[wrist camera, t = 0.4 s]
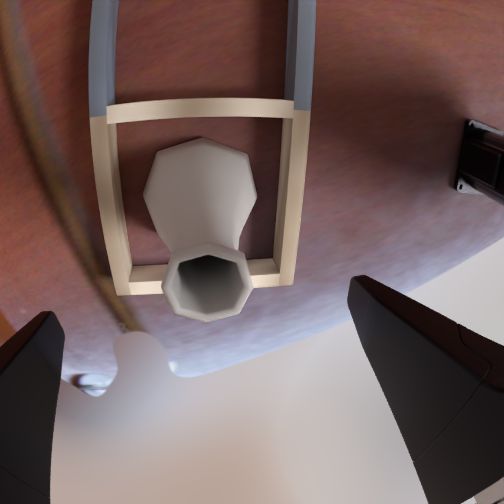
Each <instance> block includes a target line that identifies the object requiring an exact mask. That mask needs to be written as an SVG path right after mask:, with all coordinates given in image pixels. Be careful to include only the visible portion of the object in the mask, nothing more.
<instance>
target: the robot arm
mask: <svg viewBox="0 0 504 504" xmlns="http://www.w3.org/2000/svg"><path fill="white" fill-rule="evenodd" d="M470 125H471V126H470ZM454 188H455V190H456V191H458V192H461V193H470V194H479V195H486V196H488V197H489V198H491V199H493V200H495V201H496V202H498V203H500V204H501V205H503V206H504V132H501V131H499V130H497V129H494V128H492V127H489V126H487V125H484V124H481V123H479V122H476V121H473V120H470V119H468V120H467V121H466V123H465V130H464V137H463V144H462V150H461V155H460V161H459V166H458V171H457V176H456V180H455V185H454ZM347 303H348V307H349V310H350V313H351V315H352V318H353V321H354V324H355V327H356V330H357V333H358V335H359V338H360V341H361V344H362V346H363V349H364V351H365V353H366V356H367V357H368V360H369V362H370V364H371V366H372V368H373V371H374V372H375V375H376V377H377V379H378V381H379V383H380V386H381V388H382V390H383V392H384V395H385V397H386V399H387V402H388V404H389V406H390V408H391V411H392V413H393V415H394V418H395V420H396V422H397V425H398V427H399V429H400V432H401V434H402V436H403V439H404V441H405V444H406V446H407V448H408V451H409V454H410V456H411V458H412V461H414V462H413V464H414V467H415V469H416V471H417V474H418V477H419V480H420V482H421V485H422V487H423V490H424V493H425V495H426V498H427V501H428V504H461V503H463V502H464V501H466V500H468V499H470V498H472V497H473V496H474V498H475V500H476V502H477V503H475V504H504V346H503V345H501V344H498V343H496V342H494V341H492V340H490V339H488V338H485V337H483V336H481V335H479V334H477V333H475V332H473V331H471V330H470V329H467V328H466V327H464V326H462V325H460V324H457V323H456V322H455V321H453V320H451V319H449V318H447V317H445V316H444V315H442V314H440V313H438V312H436V311H434V310H432V309H430V308H428V307H426V306H425V305H423V304H421V303H419V302H417V301H415V300H413V299H411V298H409V297H407V296H405V295H403V294H402V293H400V292H398V291H396V290H394V289H392V288H390V287H388V286H386V285H384V284H382V283H380V282H378V281H376V280H374V279H372V278H370V277H368V276H366V275H359V276H354V277H352V278H351V281H350V286H349V292H348V298H347ZM64 341H65V334H64V330H63V328H62V327H61V325H60V323H59V321H58V319H57V317H56V315H55V313H54V312H52V311H43V312H40V313H39V314H38V315H37V316H36V317H34V318H33V319H32V320H31V321H30V322H28V323H27V324H26V325H25V326H24V327H22V328H21V329H20V330H19V331H18V332H17V333H16V334H14V335H13V336H12V337H11V338H10V339H9V340H7V341H6V342H5V343H4V344H3V345H2V346H1V347H0V504H50V498H49V497H50V473H51V453H52V440H53V431H54V422H55V414H56V407H57V400H58V393H59V387H60V380H61V370H62V359H63V349H64Z"/></svg>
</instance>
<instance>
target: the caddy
mask: <svg viewBox="0 0 504 504" xmlns="http://www.w3.org/2000/svg"><path fill="white" fill-rule="evenodd" d="M118 5H119V0H93V3H92V13H91V25H90V41H89V114H90V132H91V145H92V156H93V165H94V174H95V182H96V190H97V197H98V204H99V210H100V216H101V222H102V228H103V233H104V239H105V244H106V249H107V254H108V259H109V263H110V268H111V272H112V276H113V281H114V285H115V289H116V293H117V295H138V294H161V293H163V291H162V289H161V283H162V280H163V277H164V274H165V271H166V268H167V265H168V264H164V265H145V266H133V265H132V259H131V254H130V248H129V242H128V235H127V229H126V222H125V215H124V207H123V199H122V190H121V181H120V171H119V160H118V146H117V130H116V123H122V122H131V121H141V120H152V119H166V118H184V117H217V116H243V117H276V118H283V125H282V142H281V157H280V172H279V186H278V200H277V214H276V227H275V239H274V252H273V258H271V259H254V260H246V262H247V266H248V269H249V273H250V277H251V280H252V284H253V288H259V287H271V286H284V285H293V278H294V270H295V263H296V255H297V246H298V238H299V230H300V221H301V212H302V202H303V193H304V183H305V173H306V162H307V151H308V139H309V127H310V113H311V99H312V83H313V66H314V45H315V18H316V0H288V26H287V49H286V71H285V90H284V100H282V99H264V98H183V99H166V100H152V101H141V102H132V103H123V104H115V55H116V31H117V17H118Z"/></svg>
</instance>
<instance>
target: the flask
mask: <svg viewBox="0 0 504 504" xmlns="http://www.w3.org/2000/svg"><path fill="white" fill-rule="evenodd" d="M143 197H144V200H145V203H146V205H147V208H148V211H149V213H150V216H151V218H152V221H153V224H154V226H155V229H156V231H157V234H158V235H159V237H160V238H161V240H162V241H163V242H164V243H165V244H166V246H167V247H168V249H169V250H170V253H171V257H170V259H169V262H168V265H167V268H166V271H165V274H164V277H163V280H162V283H161V289H162V291H163V293H164V295H165V297H166V299H167V301H168V303H169V305H170V307H171V309H172V311H173V313H174V315H178V316H182V317H186V318H190V319H194V320H199V321H203V322H210V321H214V320H218V319H221V318H225V317H229V316H233V315H236V314H239V313H240V311H241V309H242V308H243V306H244V304H245V302H246V300H247V298H248V296H249V294H250V292H251V291H252V289H253V284H252V280H251V277H250V273H249V269H248V266H247V262H246V258H245V255H244V253H243V252H242V251H238V246H239V237H240V234H241V232H242V229H243V227H244V225H245V223H246V221H247V218H248V216H249V214H250V212H251V210H252V208H253V206H254V204H255V201H256V199H257V192H256V188H255V184H254V179H253V175H252V171H251V166H250V162H249V158H248V154H246V153H243V152H241V151H238V150H236V149H233V148H231V147H228V146H225V145H223V144H220V143H218V142H215V141H212V140H209V139H207V138H204V137H203V138H199V139H196V140H192V141H189V142H186V143H182V144H179V145H176V146H173V147H169V148H166V149H163V150H160V151H157V153H156V156H155V159H154V161H153V164H152V167H151V170H150V173H149V176H148V179H147V182H146V185H145V188H144V191H143Z"/></svg>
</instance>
